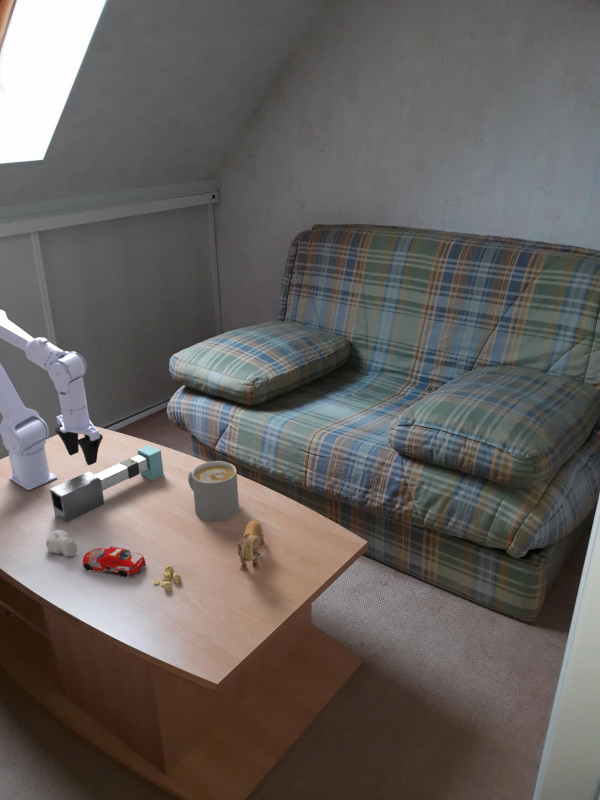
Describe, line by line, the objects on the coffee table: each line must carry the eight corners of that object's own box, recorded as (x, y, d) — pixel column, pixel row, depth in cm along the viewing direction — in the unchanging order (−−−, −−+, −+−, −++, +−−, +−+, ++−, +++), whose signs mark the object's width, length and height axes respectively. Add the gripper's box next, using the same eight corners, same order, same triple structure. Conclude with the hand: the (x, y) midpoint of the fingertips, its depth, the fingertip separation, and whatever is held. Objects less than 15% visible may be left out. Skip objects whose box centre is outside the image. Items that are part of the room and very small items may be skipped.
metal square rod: (76, 495, 153) (74, 483, 151) (147, 462, 167) (146, 450, 166) (84, 500, 151) (82, 488, 149) (155, 466, 165) (154, 454, 164)
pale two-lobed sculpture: (46, 551, 140) (67, 536, 143) (62, 568, 135) (83, 551, 137) (36, 538, 138) (57, 522, 140) (53, 554, 132) (74, 537, 135)
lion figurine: (266, 580, 128) (264, 542, 125) (238, 581, 128) (236, 543, 125) (264, 536, 142) (262, 500, 138) (239, 537, 142) (237, 501, 138)
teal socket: (140, 474, 167) (137, 449, 164) (151, 468, 170) (148, 444, 167) (152, 480, 164) (149, 455, 161) (163, 474, 167) (160, 450, 164)
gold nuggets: (170, 572, 132) (169, 564, 131) (187, 582, 129) (186, 574, 128) (150, 584, 129) (149, 576, 128) (167, 595, 126) (166, 587, 125)
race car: (77, 570, 133) (74, 554, 131) (93, 554, 137) (90, 538, 136) (135, 581, 129) (133, 565, 127) (149, 565, 134) (147, 548, 132)
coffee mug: (247, 510, 151) (245, 472, 147) (210, 527, 145) (207, 488, 141) (215, 487, 161) (212, 451, 157) (179, 502, 155) (175, 465, 151)
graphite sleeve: (54, 515, 150) (49, 488, 148) (92, 497, 157) (88, 471, 155) (66, 522, 148) (61, 496, 145) (104, 504, 154) (100, 478, 152)
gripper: (41, 403, 152) (51, 455, 157) (76, 420, 143) (85, 474, 148) (68, 394, 157) (77, 444, 162) (103, 409, 148) (111, 462, 153)
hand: (82, 458), depth 156 cm, fingers open, 7 cm apart
